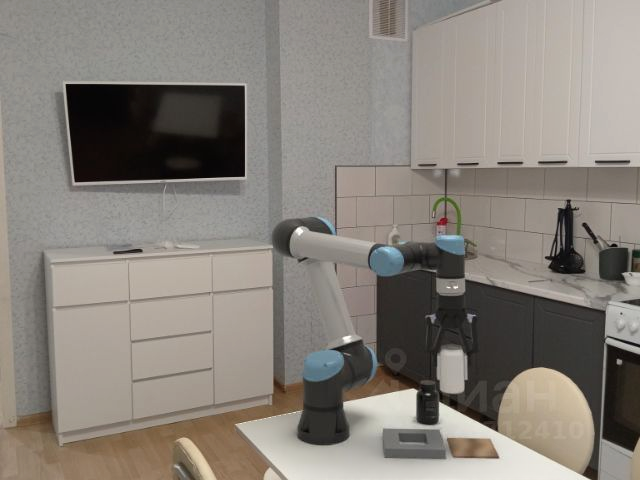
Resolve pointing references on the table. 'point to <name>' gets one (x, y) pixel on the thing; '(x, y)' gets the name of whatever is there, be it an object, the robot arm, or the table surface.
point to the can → (452, 369)
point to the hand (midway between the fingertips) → (451, 378)
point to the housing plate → (425, 451)
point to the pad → (472, 448)
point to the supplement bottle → (427, 403)
